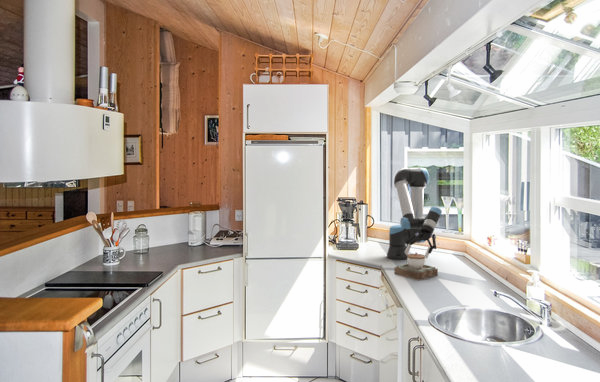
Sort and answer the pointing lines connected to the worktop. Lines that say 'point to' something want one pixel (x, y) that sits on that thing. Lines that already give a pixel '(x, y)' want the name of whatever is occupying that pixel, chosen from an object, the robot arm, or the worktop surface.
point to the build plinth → (416, 271)
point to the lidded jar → (416, 260)
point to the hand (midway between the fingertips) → (415, 255)
